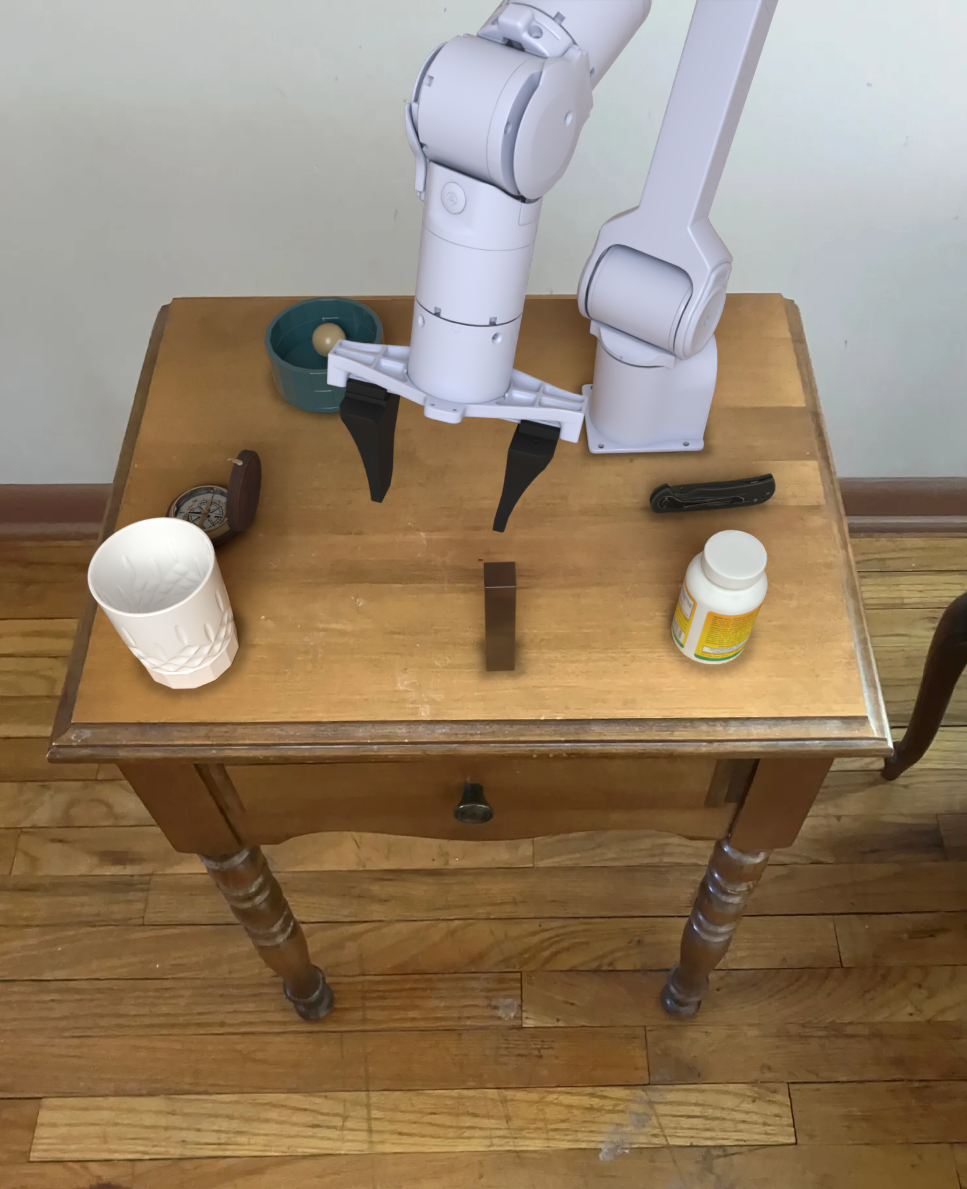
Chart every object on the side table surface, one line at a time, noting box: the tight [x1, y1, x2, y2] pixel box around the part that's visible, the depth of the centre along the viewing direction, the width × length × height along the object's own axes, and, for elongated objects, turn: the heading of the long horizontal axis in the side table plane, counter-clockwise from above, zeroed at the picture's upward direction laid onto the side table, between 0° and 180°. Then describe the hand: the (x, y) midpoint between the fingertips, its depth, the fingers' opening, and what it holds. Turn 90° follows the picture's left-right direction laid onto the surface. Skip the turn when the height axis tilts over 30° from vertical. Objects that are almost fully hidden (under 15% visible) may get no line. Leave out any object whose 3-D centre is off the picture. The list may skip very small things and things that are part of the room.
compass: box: [164, 449, 263, 548], centre depth 73 cm, size 8×8×7 cm
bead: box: [312, 323, 346, 358], centre depth 86 cm, size 3×3×3 cm
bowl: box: [263, 295, 386, 414], centre depth 84 cm, size 10×10×4 cm
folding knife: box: [648, 472, 777, 514], centre depth 75 cm, size 10×1×3 cm, turn 96°
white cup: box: [87, 516, 239, 690], centre depth 65 cm, size 8×8×10 cm
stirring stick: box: [483, 561, 517, 672], centre depth 65 cm, size 2×2×10 cm
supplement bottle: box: [670, 529, 769, 665], centre depth 66 cm, size 5×5×10 cm
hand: (440, 507), depth 60 cm, fingers open, 7 cm apart
